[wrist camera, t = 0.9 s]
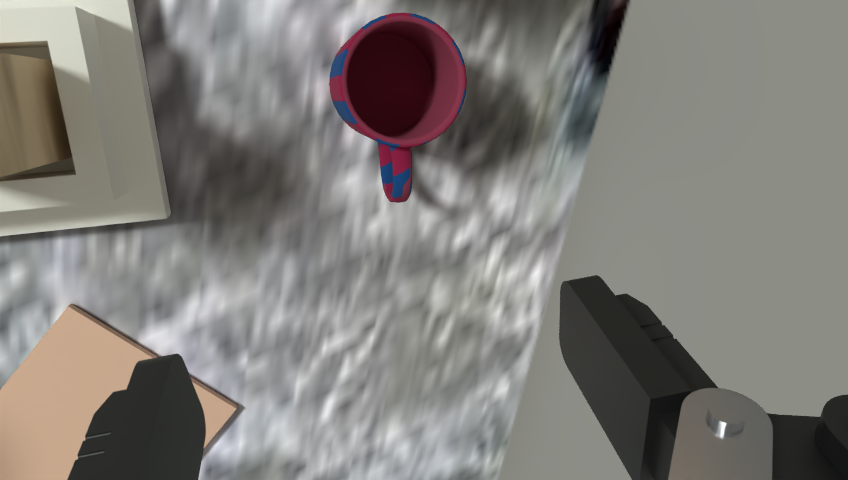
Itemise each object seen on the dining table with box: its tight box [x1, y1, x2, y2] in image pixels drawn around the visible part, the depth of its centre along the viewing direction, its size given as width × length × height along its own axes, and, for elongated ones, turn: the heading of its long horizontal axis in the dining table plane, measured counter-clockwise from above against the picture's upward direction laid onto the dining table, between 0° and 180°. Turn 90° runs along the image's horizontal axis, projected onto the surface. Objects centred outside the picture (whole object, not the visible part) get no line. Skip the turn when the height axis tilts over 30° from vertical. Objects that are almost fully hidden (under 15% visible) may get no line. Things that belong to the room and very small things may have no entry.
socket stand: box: [0, 0, 171, 236], centre depth 31 cm, size 13×13×4 cm
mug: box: [329, 13, 467, 203], centre depth 34 cm, size 7×10×7 cm
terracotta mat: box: [0, 304, 237, 480], centre depth 38 cm, size 12×12×1 cm
